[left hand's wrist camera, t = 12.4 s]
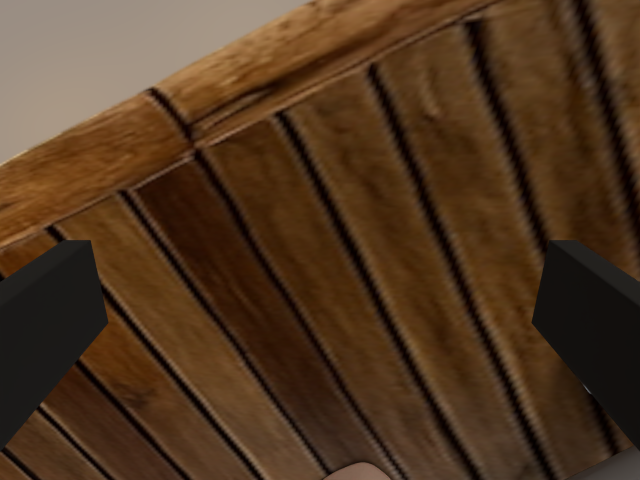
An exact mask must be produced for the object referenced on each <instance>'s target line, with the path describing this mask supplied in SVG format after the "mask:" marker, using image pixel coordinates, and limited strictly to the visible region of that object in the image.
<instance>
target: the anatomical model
mask: <svg viewBox="0 0 640 480" xmlns="http://www.w3.org/2000/svg"><path fill="white" fill-rule="evenodd" d="M323 480H391V479H390V478H389V477H388V476H387V475H386V474H385V473H383V472H382V471H381V470H380V469H378V468H377V467H375V466H374V465H372V464H369V463H365V462H361V463H356V464H353V465H350V466H347V467H345V468H343V469H340V470H338V471H336V472H334V473H332V474H331V475H329V476H327V477H326V478H324V479H323Z"/></svg>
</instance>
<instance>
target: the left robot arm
mask: <svg viewBox="0 0 640 480" xmlns="http://www.w3.org/2000/svg"><path fill="white" fill-rule="evenodd" d="M107 324H108V318H107V314H106V309H105V305H104V300H103V295H102V291H101V286H100V282H99V277H98V272H97V268H96V263H95V259H94V254H93V250H92V245H91V240H63V241H62V242H60V243H59V244H57V245H56V246H54V247H53V248H51V249H50V250H48V251H47V252H45V253H44V254H42V255H41V256H39V257H38V258H36V259H35V260H33V261H32V262H30V263H29V264H27V265H26V266H24V267H23V268H21V269H19V270H18V271H16V272H15V273H13V274H12V275H10V276H9V277H7V278H6V279H4V280H3V281H1V282H0V451H1V450H2V449H3V448H4V446H5V445H6V444H7V443H8V442H9V441H10V439H11V438H12V437H13V436H14V435H15V433H16V432H17V431H18V430H19V429H20V427H21V426H22V425H23V424H24V423H25V422H26V420H27V419H28V418H29V417H30V416H31V414H32V413H33V412H34V411H35V410H36V408H37V407H38V406H39V405H40V404H41V402H42V401H43V400H44V399H45V398H46V397H47V395H48V394H49V393H50V392H51V391H52V389H53V388H54V387H55V386H56V385H57V383H58V382H59V381H60V380H61V379H62V377H63V376H64V375H65V374H66V373H67V372H68V370H69V369H70V368H71V367H72V366H73V364H74V363H75V362H76V361H77V360H78V358H79V357H80V356H81V355H82V354H83V352H84V351H85V350H86V349H87V348H88V347H89V345H90V344H91V343H92V342H93V341H94V339H95V338H96V337H97V336H98V335H99V333H100V332H101V331H102V330H103V329H104V327H105V326H106V325H107ZM532 324H533V325H534V326H535V327H536V329H537V330H538V331H539V332H540V333H541V335H542V336H543V337H544V338H545V339H546V341H547V342H548V343H549V344H550V345H551V347H552V348H553V349H554V350H555V351H556V352H557V354H558V355H559V356H560V357H561V358H562V360H563V361H564V362H565V363H566V364H567V366H568V367H569V368H570V369H571V370H572V372H573V373H574V374H575V375H576V376H577V378H578V379H579V381H580V382H581V383H582V384H583V386H584V387H585V388H586V389H587V390H588V391H589V392H590V393H591V394H592V395H593V397H594V398H595V399H596V400H597V401H598V402H599V404H600V405H601V406H602V407H603V408H604V410H605V411H606V412H607V413H608V414H609V416H610V417H611V418H612V419H613V420H614V422H615V423H616V424H617V425H618V426H619V427H620V429H621V430H622V431H623V432H624V433H625V435H626V436H627V437H628V438H629V439H630V441H631V442H632V443H633V444H634V446H632V447H630V448H628V449H626V450H624V451H622V452H620V453H618V454H616V455H614V456H612V457H610V458H608V459H606V460H604V461H602V462H600V463H598V464H596V465H594V466H592V467H590V468H588V469H586V470H584V471H582V472H580V473H578V474H575V475H573V476H571V477H569V478H567V479H565V480H640V282H639V281H637V280H636V279H634V278H633V277H631V276H630V275H628V274H627V273H625V272H624V271H622V270H621V269H619V268H617V267H616V266H614V265H613V264H611V263H610V262H608V261H607V260H605V259H604V258H602V257H601V256H599V255H598V254H596V253H595V252H593V251H592V250H590V249H589V248H587V247H586V246H584V245H583V244H581V243H580V242H578V241H577V240H549V245H548V250H547V254H546V259H545V263H544V268H543V272H542V277H541V282H540V286H539V291H538V295H537V300H536V305H535V309H534V314H533V318H532Z"/></svg>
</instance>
